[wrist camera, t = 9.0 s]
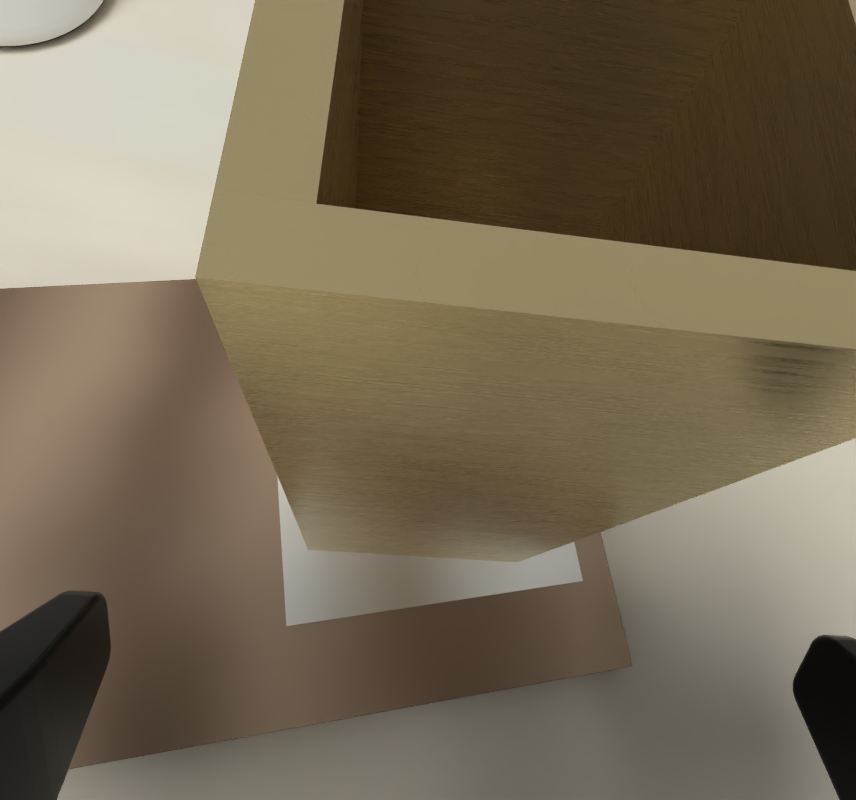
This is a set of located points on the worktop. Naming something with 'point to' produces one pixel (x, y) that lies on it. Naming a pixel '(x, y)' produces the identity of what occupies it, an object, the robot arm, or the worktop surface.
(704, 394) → the sleeve
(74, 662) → the robot arm
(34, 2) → the water bottle
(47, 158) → the worktop surface
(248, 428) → the shaft board
